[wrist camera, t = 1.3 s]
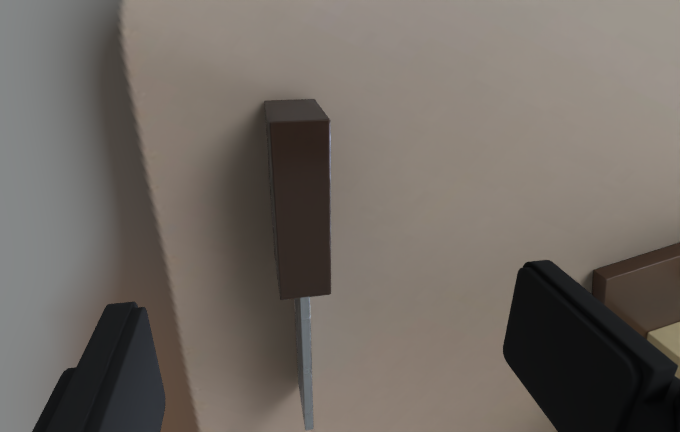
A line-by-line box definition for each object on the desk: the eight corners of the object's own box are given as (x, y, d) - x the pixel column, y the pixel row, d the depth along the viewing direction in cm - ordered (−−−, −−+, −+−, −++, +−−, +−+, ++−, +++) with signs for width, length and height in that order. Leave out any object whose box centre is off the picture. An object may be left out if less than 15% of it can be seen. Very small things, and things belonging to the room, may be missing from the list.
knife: (264, 100, 17) (269, 121, 14) (314, 98, 18) (330, 119, 15) (283, 384, 24) (289, 441, 21) (320, 378, 24) (331, 433, 21)
